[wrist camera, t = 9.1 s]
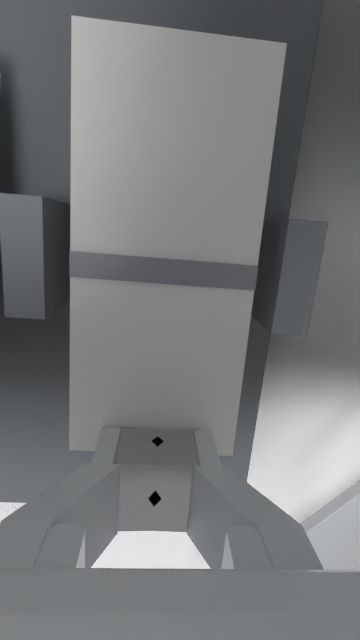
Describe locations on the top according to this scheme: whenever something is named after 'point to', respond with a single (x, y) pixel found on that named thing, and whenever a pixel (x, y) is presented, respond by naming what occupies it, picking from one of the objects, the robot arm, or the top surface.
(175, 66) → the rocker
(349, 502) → the white domed box
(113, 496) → the robot arm
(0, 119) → the switch unit
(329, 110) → the top surface
